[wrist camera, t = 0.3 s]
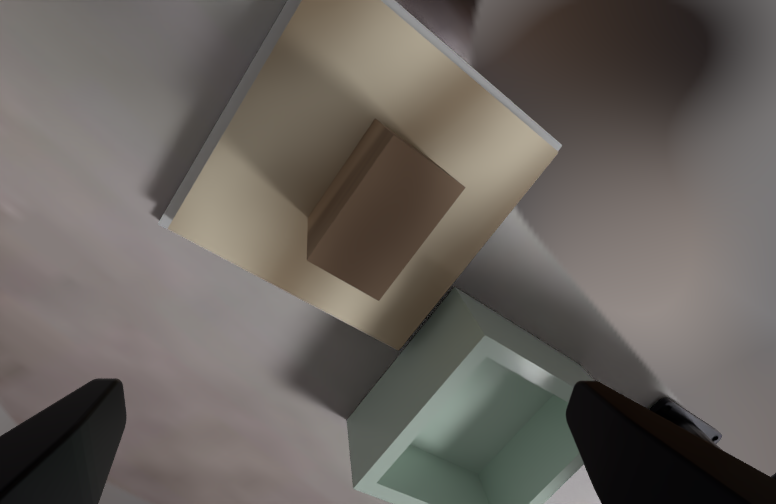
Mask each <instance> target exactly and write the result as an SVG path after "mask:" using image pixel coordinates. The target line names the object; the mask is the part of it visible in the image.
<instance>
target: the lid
mask: <svg viewBox="0 0 776 504" xmlns="http://www.w3.org/2000/svg"><path fill="white" fill-rule="evenodd" d="M557 154H558V151H557V150H556V149H554V148H553V147H552V146H551V145H550V144H549V143H547V142H546V141H545V140H544V139H543V138H542V137H540V136H539V135H538V134H537V133H536V132H535V131H533V130H532V129H531V128H530V127H529V126H527V125H526V124H525V123H524V122H523V121H522V120H520V119H519V118H518V117H517V116H516V115H515V114H513V113H512V112H511V111H510V110H509V109H508V108H506V107H505V106H504V105H503V104H502V103H501V102H499V101H498V100H497V99H496V98H495V97H493V96H492V95H491V94H490V93H489V92H488V91H486V90H485V89H484V88H483V87H482V86H481V85H479V84H478V83H477V82H476V81H475V80H474V79H472V78H471V77H470V76H469V75H468V74H467V73H465V72H464V71H463V70H462V69H461V68H459V67H458V66H457V65H456V64H455V63H454V62H452V61H451V60H450V59H449V58H448V57H447V56H445V55H444V54H443V53H442V52H441V51H440V50H438V49H437V48H436V47H435V46H434V45H433V44H431V43H430V42H429V41H428V40H427V39H426V38H424V37H423V36H422V35H421V34H420V33H418V32H417V31H416V30H415V29H414V28H413V27H411V26H410V25H409V24H408V23H407V22H406V21H404V20H403V19H402V18H401V17H400V16H399V15H397V14H396V13H395V12H394V11H393V10H392V9H390V8H389V7H388V6H387V5H386V4H384V3H383V2H382V1H381V0H302V1H301V2H300V4H299V6H298V8H297V9H296V11H295V13H294V14H293V16H292V18H291V19H290V21H289V23H288V25H287V26H286V28H285V30H284V31H283V33H282V35H281V37H280V38H279V40H278V42H277V43H276V45H275V47H274V48H273V50H272V52H271V54H270V55H269V57H268V59H267V60H266V62H265V64H264V65H263V67H262V69H261V71H260V72H259V74H258V76H257V77H256V79H255V81H254V82H253V84H252V86H251V88H250V89H249V91H248V93H247V94H246V96H245V98H244V99H243V101H242V103H241V105H240V106H239V108H238V110H237V111H236V113H235V115H234V116H233V118H232V120H231V122H230V123H229V125H228V127H227V128H226V130H225V132H224V133H223V135H222V137H221V139H220V140H219V142H218V144H217V145H216V147H215V149H214V150H213V152H212V154H211V156H210V157H209V159H208V161H207V162H206V164H205V166H204V168H203V169H202V171H201V173H200V174H199V176H198V178H197V179H196V181H195V183H194V185H193V186H192V188H191V190H190V191H189V193H188V195H187V196H186V198H185V200H184V202H183V203H182V205H181V207H180V208H179V210H178V212H177V213H176V215H175V217H174V219H173V220H172V222H171V224H170V225H169V227H168V230H170V231H172V232H174V233H176V234H178V235H180V236H182V237H183V238H185V239H187V240H189V241H191V242H193V243H195V244H197V245H199V246H201V247H202V248H204V249H206V250H208V251H210V252H212V253H214V254H216V255H218V256H220V257H221V258H223V259H225V260H227V261H229V262H231V263H233V264H235V265H237V266H239V267H240V268H242V269H244V270H246V271H248V272H250V273H252V274H254V275H256V276H258V277H259V278H261V279H263V280H265V281H267V282H269V283H271V284H273V285H275V286H277V287H278V288H280V289H282V290H284V291H286V292H288V293H290V294H292V295H294V296H296V297H297V298H299V299H301V300H303V301H305V302H307V303H309V304H311V305H313V306H315V307H317V308H318V309H320V310H322V311H324V312H326V313H328V314H330V315H332V316H334V317H336V318H337V319H339V320H341V321H343V322H345V323H347V324H349V325H351V326H353V327H355V328H356V329H358V330H360V331H362V332H364V333H366V334H368V335H370V336H372V337H374V338H375V339H377V340H379V341H381V342H383V343H385V344H387V345H389V346H391V347H393V348H394V349H396V350H398V351H399V350H400V349H401V347H402V346H403V345H404V344H405V342H406V341H407V340H408V339H409V337H410V336H411V335H412V334H413V333H414V331H415V330H416V329H417V328H418V326H419V325H420V324H421V323H422V321H423V320H424V319H425V318H426V316H427V315H428V314H429V313H430V311H431V310H432V309H433V308H434V306H435V305H436V304H437V303H438V301H439V300H440V299H441V298H442V297H443V295H444V294H445V293H446V292H447V290H448V289H449V288H450V287H451V285H452V284H453V283H454V282H455V280H456V279H457V278H458V277H459V275H460V274H461V273H462V272H463V270H464V269H465V268H466V267H467V265H468V264H469V263H470V262H471V261H472V259H473V258H474V257H475V256H476V254H477V253H478V252H479V251H480V249H481V248H482V247H483V246H484V244H485V243H486V242H487V241H488V239H489V238H490V237H491V236H492V234H493V233H494V232H495V231H496V229H497V228H498V227H499V226H500V224H501V223H502V222H503V221H504V220H505V218H506V217H507V216H508V215H509V213H510V212H511V211H512V210H513V208H514V207H515V206H516V205H517V203H518V202H519V201H520V200H521V198H522V197H523V196H524V195H525V193H526V192H527V191H528V190H529V188H530V187H531V186H532V184H534V182H535V181H536V179H538V177H539V176H540V175H541V173H542V172H543V171H544V170H545V168H546V167H547V166H548V165H549V163H550V162H551V161H552V160H553V159H554V157H555V156H556V155H557Z"/></svg>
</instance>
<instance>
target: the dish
mask: <svg viewBox="0 0 776 504" xmlns="http://www.w3.org/2000/svg"><path fill="white" fill-rule="evenodd" d="M578 381H594V380H593V379H592V378H591V377H590V375H589V374H588V373H587V372H586V371H585V370H584V369H583V367H582V366H581V365H580V364H578V363H576V362H575V361H573V360H572V359H570V358H568V357H567V356H565V355H564V354H562V353H560V352H559V351H557V350H555V349H554V348H552V347H551V346H549V345H547V344H546V343H544V342H543V341H541V340H539V339H538V338H536V337H535V336H533V335H531V334H530V333H528V332H527V331H525V330H523V329H522V328H520V327H519V326H517V325H515V324H514V323H512V322H511V321H509V320H507V319H506V318H504V317H502V316H501V315H499V314H498V313H496V312H494V311H493V310H491V309H490V308H488V307H486V306H485V305H483V304H482V303H480V302H478V301H477V300H475V299H474V298H472V297H470V296H469V295H467V294H466V293H464V292H462V291H461V290H459V289H457V288H456V287H454V288H453V289H452V291H451V292H450V293H449V294H448V295H447V297H446V298H445V299H444V300H443V302H442V303H441V304H440V305H439V307H438V308H437V309H436V310H435V312H434V313H433V314H432V315H431V316H430V318H429V319H428V320H427V321H426V323H425V324H424V325H423V326H422V328H421V329H420V330H419V331H418V333H417V334H416V335H415V336H414V338H413V339H412V340H411V341H410V342H409V344H408V345H407V346H406V347H405V349H404V350H403V351H402V352H401V354H400V355H399V356H398V357H397V359H396V360H395V361H394V362H393V364H392V365H391V366H390V367H389V368H388V370H387V371H386V372H385V373H384V375H383V376H382V377H381V378H380V380H379V381H378V382H377V383H376V385H375V386H374V387H373V388H372V389H371V391H370V392H369V393H368V394H367V396H366V397H365V398H364V399H363V401H362V402H361V403H360V404H359V406H358V407H357V408H356V409H355V411H354V412H353V413H352V414H351V415H350V417H349V418H348V419H347V429H348V440H349V450H350V461H351V471H352V482H353V489H355V490H358V491H360V492H363V493H366V494H368V495H371V496H374V497H376V498H379V499H382V500H384V501H387V502H390V503H392V504H544V503H545V502H546V501H547V500H548V499H549V498H550V497H551V496H552V495H553V494H554V493H555V492H556V491H557V490H558V489H559V488H560V487H561V486H562V485H563V484H564V483H565V482H566V481H567V480H568V479H569V478H570V477H571V476H572V475H573V474H574V473H575V472H576V471H577V470H578V469H579V468H580V467H581V466H582V465H583V464H584V463H583V461H582V458H581V456H580V453H579V451H578V448H577V446H576V444H575V441H574V439H573V436H572V434H571V431H570V429H569V427H568V424H567V421H566V408H567V405H568V402H569V399H570V396H571V393H572V391H573V388H574V385H575V384H576V383H577V382H578Z"/></svg>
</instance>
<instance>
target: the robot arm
mask: <svg viewBox="0 0 776 504" xmlns="http://www.w3.org/2000/svg"><path fill="white" fill-rule="evenodd" d="M566 421H567V424H568V427H569V429H570V431H571V434H572V436H573V439H574V441H575V444H576V446H577V448H578V451H579V453H580V456H581V458H582V461H583V463H584V465H585V468H586V470H587V473H588V475H589V478H590V480H591V482H592V484H593V487H594V489H595V491H596V493H597V495H598V497H599V499H600V501H601V503H602V504H776V473H775V474H774V475H772V476H771V477H770V476H768V475H766V474H764V473H762V472H761V471H759V470H757V469H755V468H753V467H752V466H750V465H748V464H746V463H744V462H743V461H741V460H739V459H737V458H735V457H733V456H732V455H730V454H728V453H726V452H724V451H723V450H722V449H721V448H720V447H719V446H717V445H716V443H717V442H718V441H719V440H720V439H721V437H722V435H721V433H719V432H718V431H717V430H716V429H715V428H713V427H712V426H710V425H709V424H707V423H705V422H704V421H703V420H701V419H699V418H698V417H696V416H695V415H693V414H692V413H690V412H689V411H687V410H686V409H684V408H683V407H681V406H679V405H678V404H676V403H675V402H673V401H672V400H670V399H669V398H663V399H661V400H659V401H658V402H657V403H656V404H655V405H654V406H653V407H652V408H651V409H650V410H649V409H647V408H645V407H643V406H641V405H639V404H638V403H636V402H634V401H632V400H630V399H629V398H627V397H625V396H623V395H621V394H620V393H618V392H616V391H614V390H612V389H611V388H609V387H607V386H605V385H603V384H602V383H600V382H598V381H578V382H577V383H576V384H575V385H574V388H573V391H572V393H571V396H570V399H569V402H568V405H567V408H566ZM125 424H126V407H125V399H124V390H123V384H122V382H121V381H120V380H119V379H100V378H99V379H94V380H92V381H90V382H88V383H87V384H85V385H83V386H82V387H80V388H79V389H77V390H75V391H74V392H72V393H70V394H69V395H67V396H65V397H64V398H62V399H60V400H59V401H57V402H56V403H54V404H52V405H51V406H49V407H47V408H46V409H44V410H42V411H41V412H39V413H38V414H36V415H34V416H33V417H31V418H29V419H28V420H26V421H24V422H23V423H21V424H19V425H18V426H16V427H15V428H13V429H11V430H10V431H8V432H7V433H5V434H3V435H2V436H0V504H98V503H99V500H100V497H101V495H102V492H103V489H104V486H105V483H106V480H107V477H108V474H109V472H110V469H111V466H112V463H113V460H114V457H115V454H116V451H117V449H118V446H119V443H120V440H121V437H122V434H123V431H124V428H125Z"/></svg>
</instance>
